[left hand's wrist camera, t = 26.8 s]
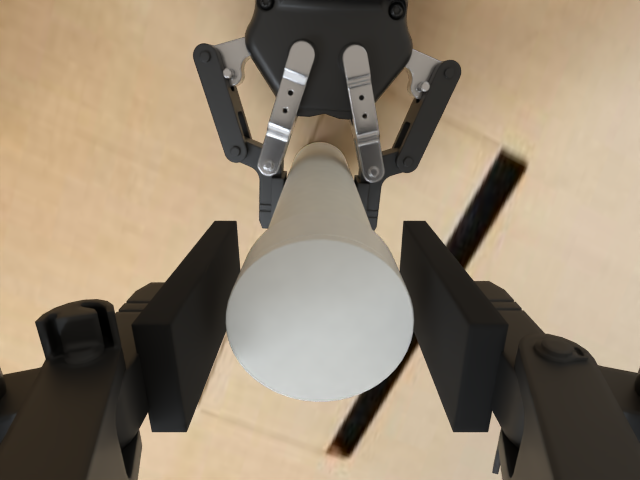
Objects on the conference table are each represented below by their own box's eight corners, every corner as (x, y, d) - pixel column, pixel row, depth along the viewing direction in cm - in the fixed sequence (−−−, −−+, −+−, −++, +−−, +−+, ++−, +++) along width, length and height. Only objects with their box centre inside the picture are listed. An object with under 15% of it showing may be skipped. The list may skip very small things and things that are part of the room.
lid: (219, 318, 12) (199, 365, 10) (279, 183, 11) (269, 206, 9) (354, 370, 13) (360, 424, 11) (426, 251, 12) (450, 287, 10)
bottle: (290, 143, 29) (236, 238, 10) (347, 140, 29) (396, 231, 10) (293, 198, 30) (253, 368, 12) (348, 196, 30) (393, 363, 12)
